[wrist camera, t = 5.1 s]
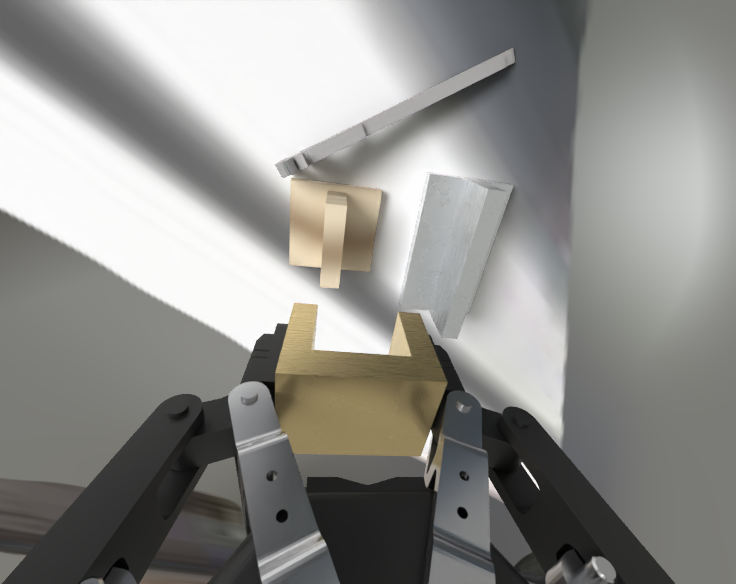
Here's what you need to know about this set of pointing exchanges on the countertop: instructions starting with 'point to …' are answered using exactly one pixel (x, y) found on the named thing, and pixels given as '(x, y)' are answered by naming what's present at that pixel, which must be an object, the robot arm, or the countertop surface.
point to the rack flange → (452, 246)
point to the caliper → (394, 114)
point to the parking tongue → (332, 227)
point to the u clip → (357, 391)
